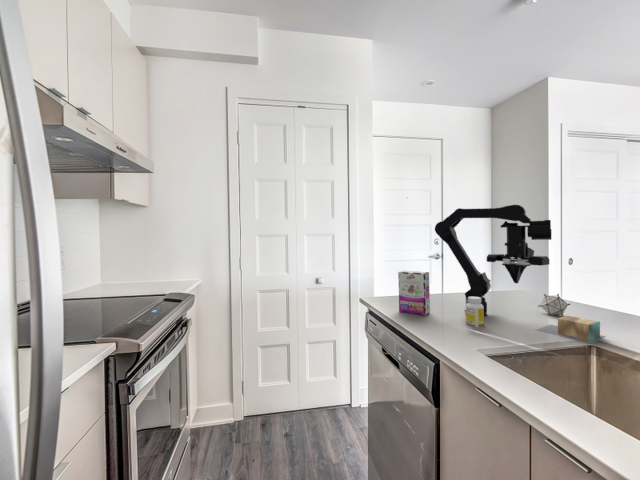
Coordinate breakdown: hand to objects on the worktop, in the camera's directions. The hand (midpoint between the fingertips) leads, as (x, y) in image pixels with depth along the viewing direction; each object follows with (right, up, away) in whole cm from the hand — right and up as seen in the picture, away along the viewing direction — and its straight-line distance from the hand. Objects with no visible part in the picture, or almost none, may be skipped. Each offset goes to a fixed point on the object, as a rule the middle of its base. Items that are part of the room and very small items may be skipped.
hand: (516, 283), depth 110 cm
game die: (+16, -13, +3) cm, 21 cm away
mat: (+5, -13, -17) cm, 22 cm away
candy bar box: (-33, -14, +12) cm, 38 cm away
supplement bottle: (-19, -14, -7) cm, 24 cm away
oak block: (+4, -11, -16) cm, 19 cm away
